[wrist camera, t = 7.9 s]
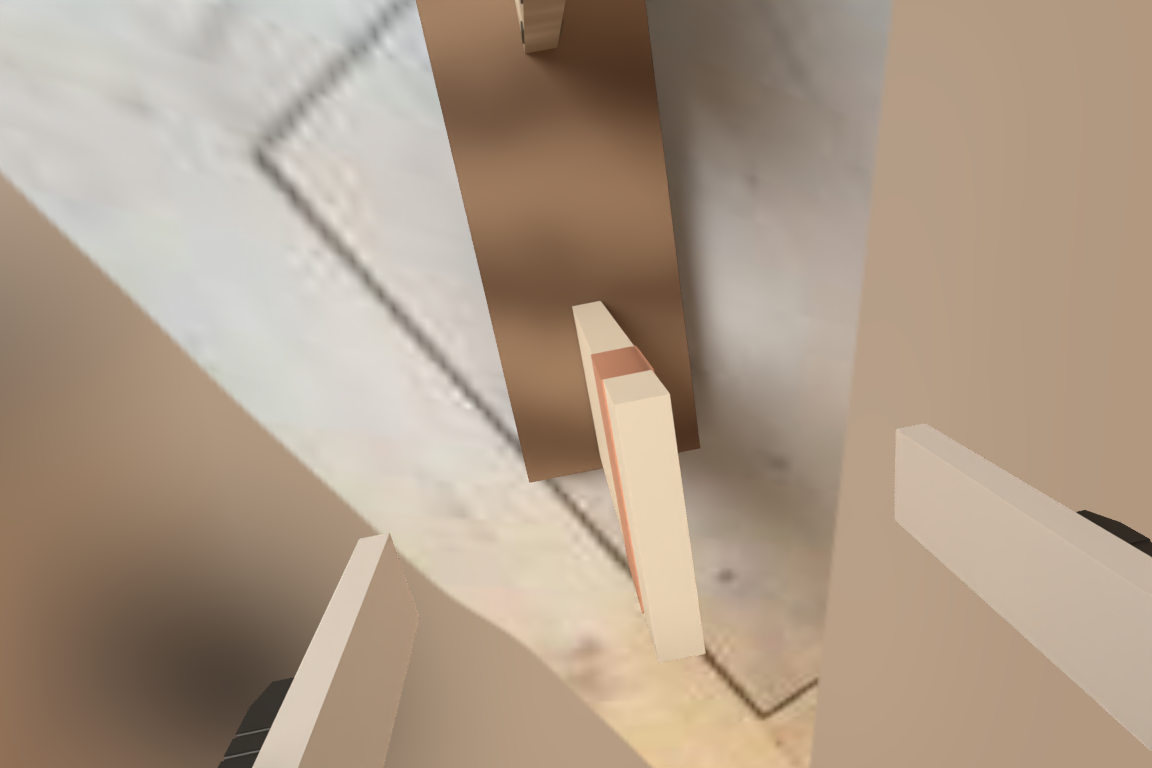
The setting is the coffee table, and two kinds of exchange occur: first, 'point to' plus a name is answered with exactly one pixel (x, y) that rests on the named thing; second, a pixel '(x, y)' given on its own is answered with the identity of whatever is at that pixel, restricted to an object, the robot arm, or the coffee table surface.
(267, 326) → the coffee table surface
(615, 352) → the stub
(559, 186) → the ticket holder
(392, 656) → the robot arm
